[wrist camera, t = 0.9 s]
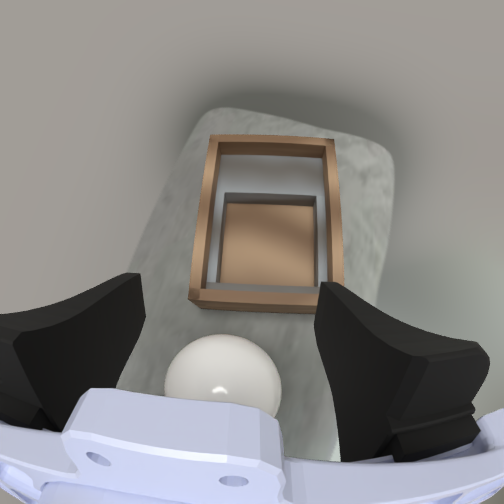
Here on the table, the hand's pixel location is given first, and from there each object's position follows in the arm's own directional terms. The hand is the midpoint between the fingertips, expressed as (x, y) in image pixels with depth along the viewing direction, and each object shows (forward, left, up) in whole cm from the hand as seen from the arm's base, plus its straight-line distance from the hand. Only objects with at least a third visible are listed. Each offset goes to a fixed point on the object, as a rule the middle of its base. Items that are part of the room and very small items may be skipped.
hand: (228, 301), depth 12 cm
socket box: (+8, -2, -13) cm, 15 cm away
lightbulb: (-4, +1, -13) cm, 14 cm away
